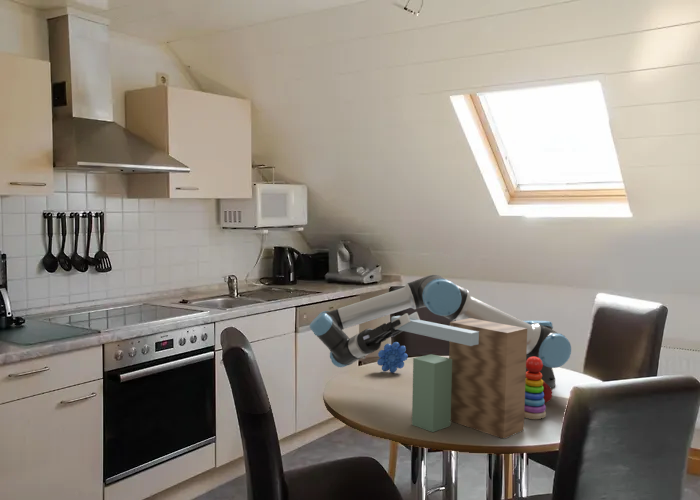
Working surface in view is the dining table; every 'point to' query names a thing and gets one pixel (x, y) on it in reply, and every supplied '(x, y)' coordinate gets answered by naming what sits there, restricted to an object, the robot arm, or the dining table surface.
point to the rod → (440, 331)
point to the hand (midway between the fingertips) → (412, 316)
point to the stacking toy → (534, 390)
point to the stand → (489, 378)
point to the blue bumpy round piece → (392, 357)
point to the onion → (547, 392)
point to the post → (432, 392)
